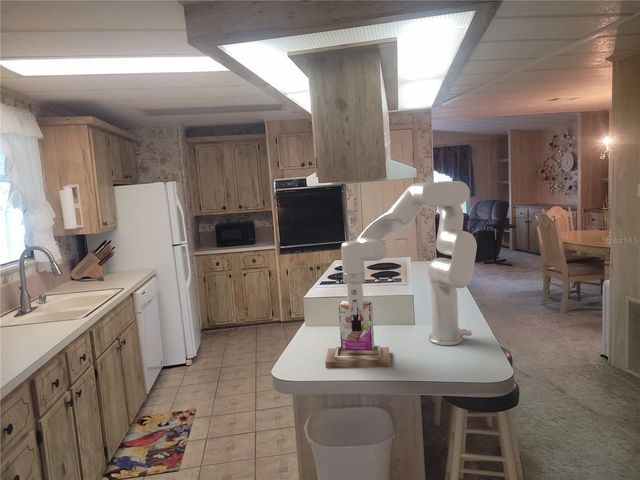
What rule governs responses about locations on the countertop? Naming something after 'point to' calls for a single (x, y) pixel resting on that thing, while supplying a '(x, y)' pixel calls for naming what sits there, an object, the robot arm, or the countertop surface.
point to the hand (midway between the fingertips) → (356, 327)
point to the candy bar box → (356, 338)
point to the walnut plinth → (358, 357)
